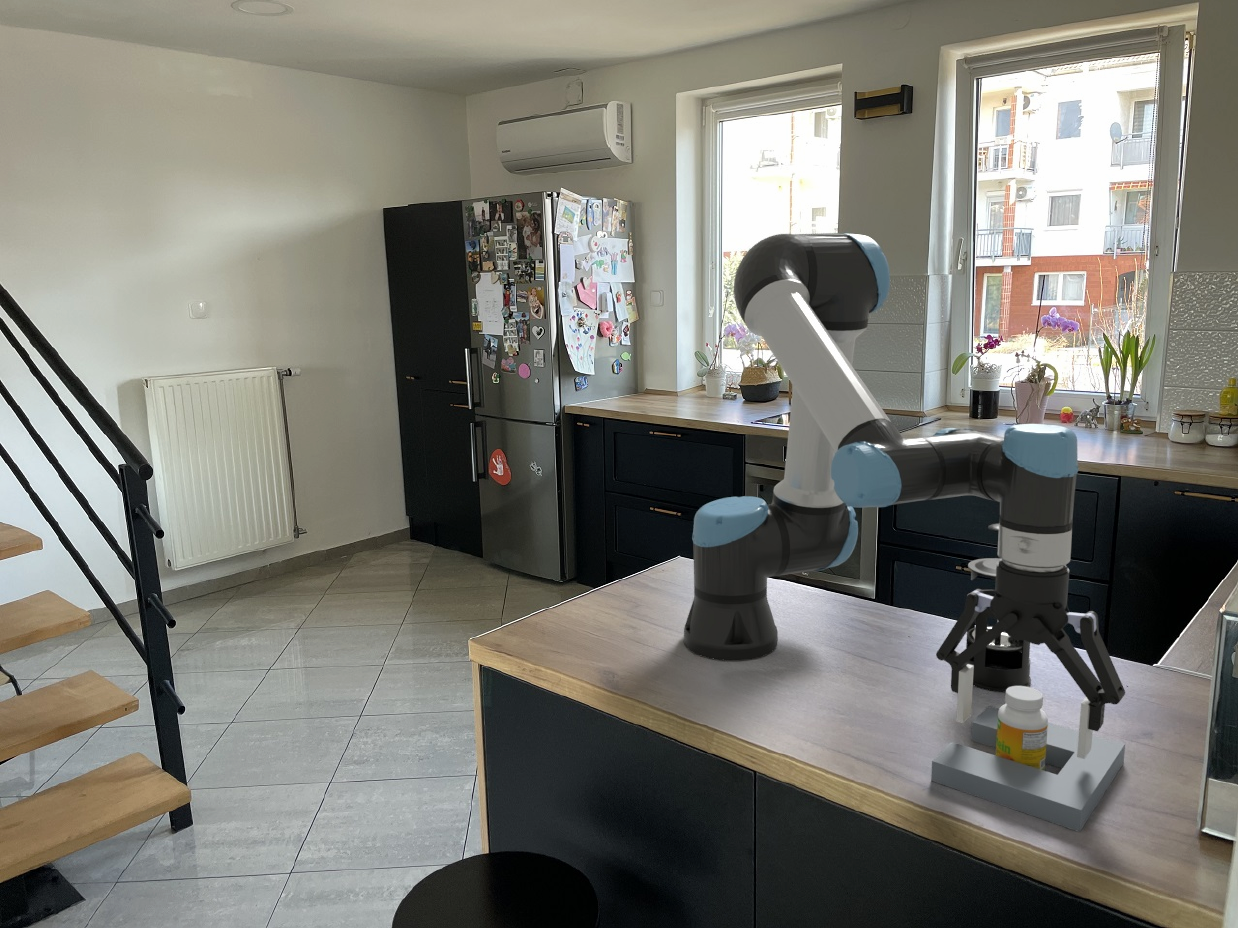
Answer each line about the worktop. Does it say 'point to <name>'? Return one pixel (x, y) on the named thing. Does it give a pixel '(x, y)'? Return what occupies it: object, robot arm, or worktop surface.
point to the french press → (996, 643)
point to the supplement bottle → (1022, 727)
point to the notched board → (1033, 773)
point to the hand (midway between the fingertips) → (1021, 735)
